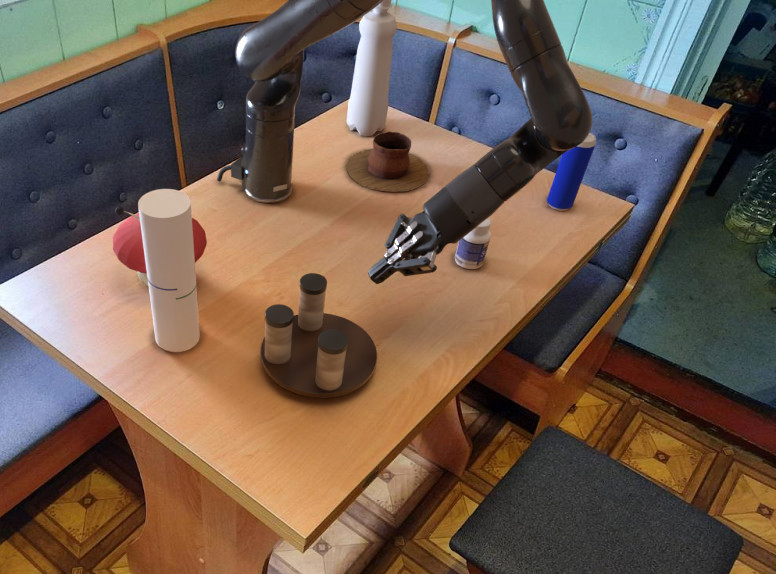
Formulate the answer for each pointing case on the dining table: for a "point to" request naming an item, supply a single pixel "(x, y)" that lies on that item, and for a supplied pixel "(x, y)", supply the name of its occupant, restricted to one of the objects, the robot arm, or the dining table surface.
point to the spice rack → (315, 346)
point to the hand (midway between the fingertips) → (372, 278)
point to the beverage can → (570, 174)
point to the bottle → (372, 71)
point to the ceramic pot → (388, 165)
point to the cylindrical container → (170, 267)
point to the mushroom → (131, 243)
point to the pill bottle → (474, 246)
